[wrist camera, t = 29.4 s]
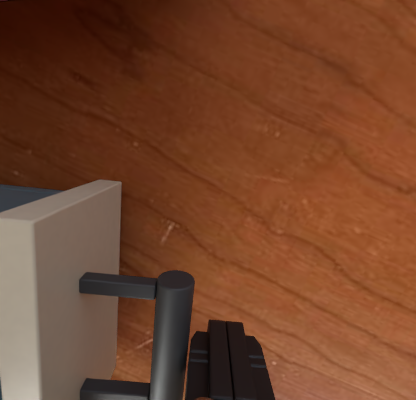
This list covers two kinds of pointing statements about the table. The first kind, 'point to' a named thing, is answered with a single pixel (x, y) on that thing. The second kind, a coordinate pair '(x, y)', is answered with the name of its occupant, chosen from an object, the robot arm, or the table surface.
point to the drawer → (79, 299)
